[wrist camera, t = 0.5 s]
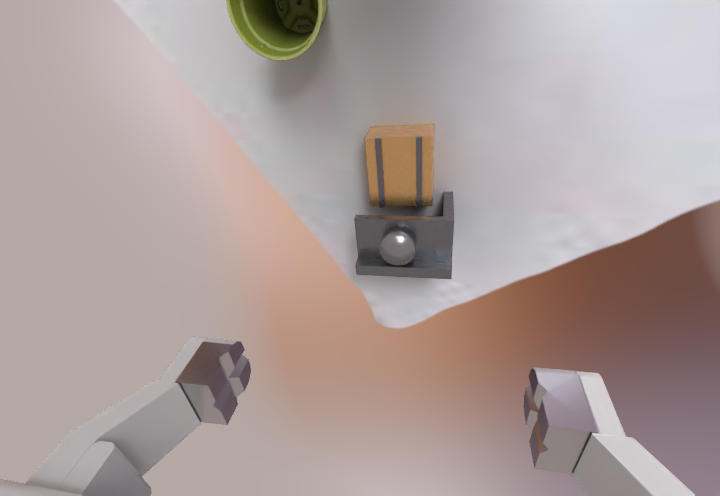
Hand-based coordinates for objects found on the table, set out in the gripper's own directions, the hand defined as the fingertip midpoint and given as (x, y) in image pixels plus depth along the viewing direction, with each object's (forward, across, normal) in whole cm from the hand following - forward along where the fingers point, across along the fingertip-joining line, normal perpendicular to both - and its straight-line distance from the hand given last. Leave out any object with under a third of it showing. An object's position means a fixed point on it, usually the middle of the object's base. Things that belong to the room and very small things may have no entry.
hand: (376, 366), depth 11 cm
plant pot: (+42, +14, -9) cm, 45 cm away
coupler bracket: (+41, +3, +19) cm, 46 cm away
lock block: (+42, +3, +10) cm, 43 cm away
